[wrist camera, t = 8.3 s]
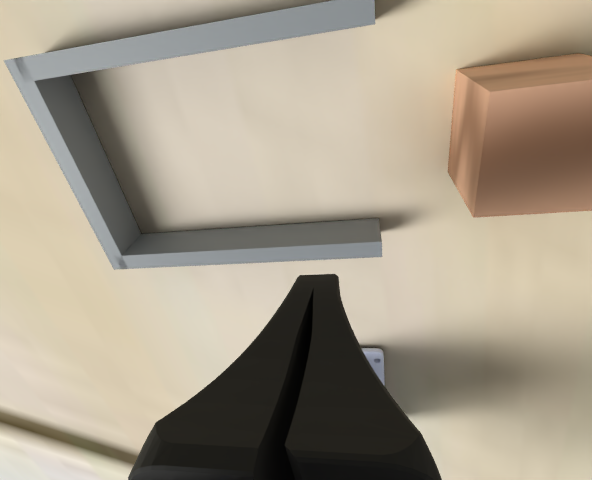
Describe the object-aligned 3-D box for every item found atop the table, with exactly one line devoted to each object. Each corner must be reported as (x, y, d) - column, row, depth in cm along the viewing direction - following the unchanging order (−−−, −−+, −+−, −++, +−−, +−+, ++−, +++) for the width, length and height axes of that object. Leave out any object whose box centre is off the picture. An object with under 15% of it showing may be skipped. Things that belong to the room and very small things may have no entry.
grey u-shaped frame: (379, 232, 22) (382, 256, 20) (133, 247, 25) (114, 269, 23) (371, -7, 15) (374, -8, 13) (42, 53, 18) (3, 60, 16)
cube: (551, 162, 18) (609, 209, 14) (447, 170, 19) (473, 217, 15) (578, 52, 16) (659, 71, 12) (455, 69, 17) (490, 91, 12)
